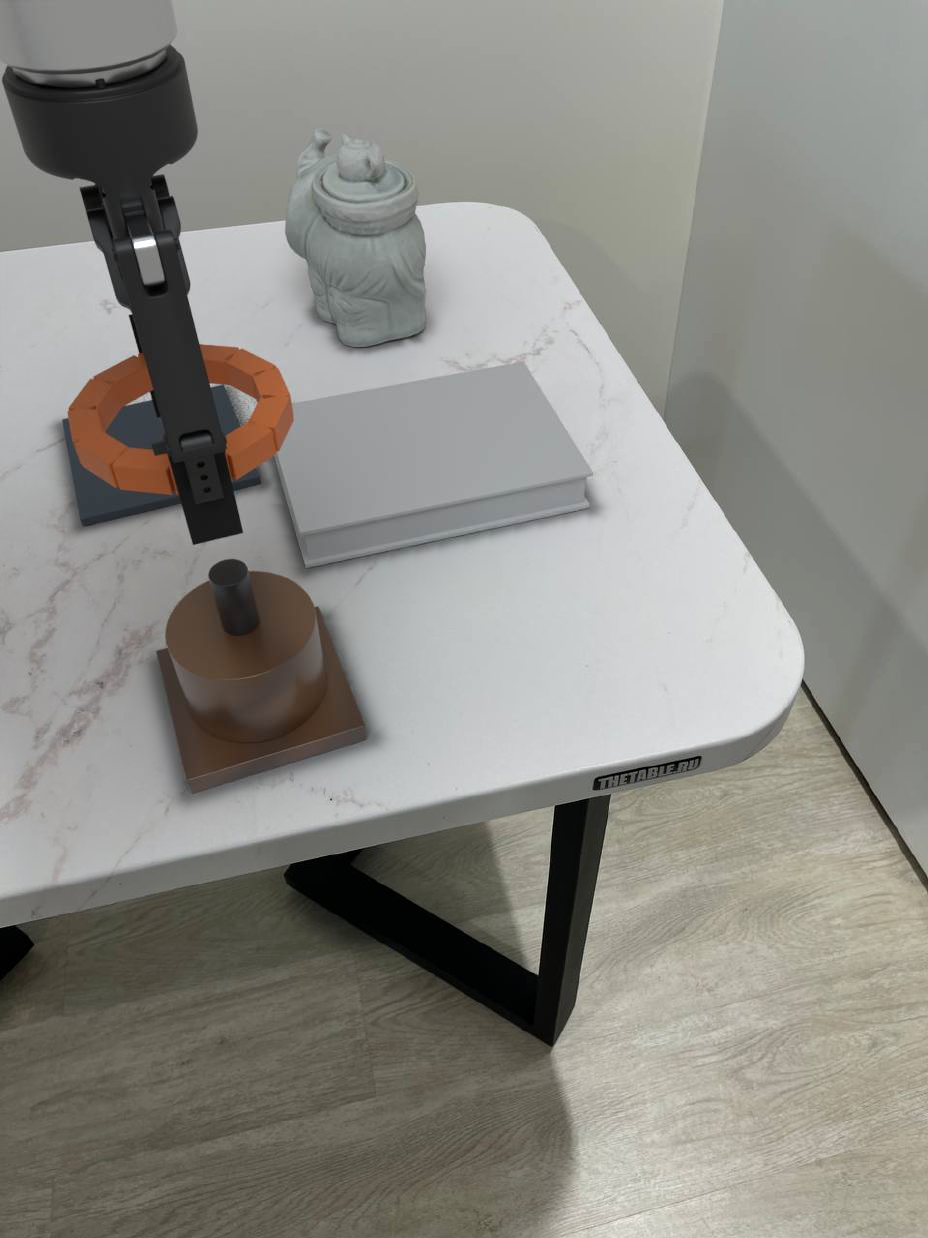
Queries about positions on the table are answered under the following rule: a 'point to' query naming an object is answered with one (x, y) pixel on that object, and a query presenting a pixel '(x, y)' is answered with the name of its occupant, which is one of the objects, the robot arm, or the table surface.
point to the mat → (139, 431)
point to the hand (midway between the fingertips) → (196, 468)
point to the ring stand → (252, 677)
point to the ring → (155, 472)
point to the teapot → (359, 240)
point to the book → (426, 463)
